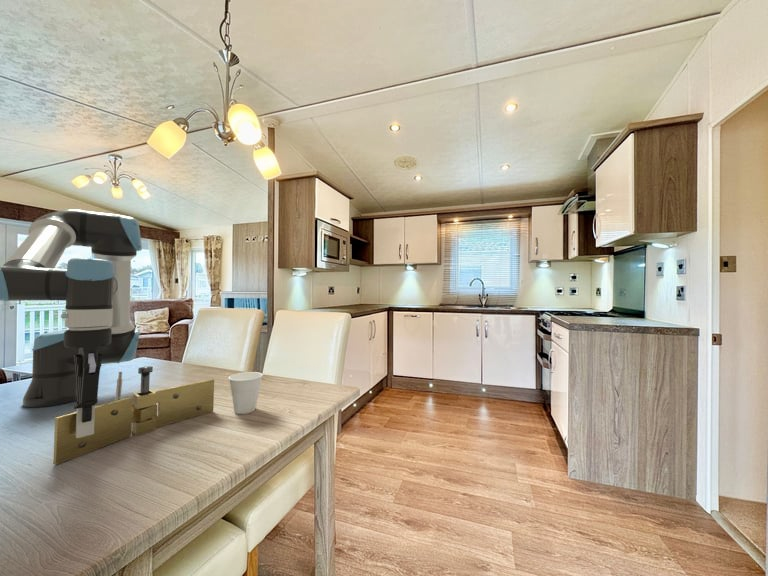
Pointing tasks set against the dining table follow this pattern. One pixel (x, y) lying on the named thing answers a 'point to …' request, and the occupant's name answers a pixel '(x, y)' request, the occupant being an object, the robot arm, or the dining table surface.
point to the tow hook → (119, 388)
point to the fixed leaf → (174, 404)
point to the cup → (245, 391)
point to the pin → (145, 379)
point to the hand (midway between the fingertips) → (84, 435)
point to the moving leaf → (97, 428)
